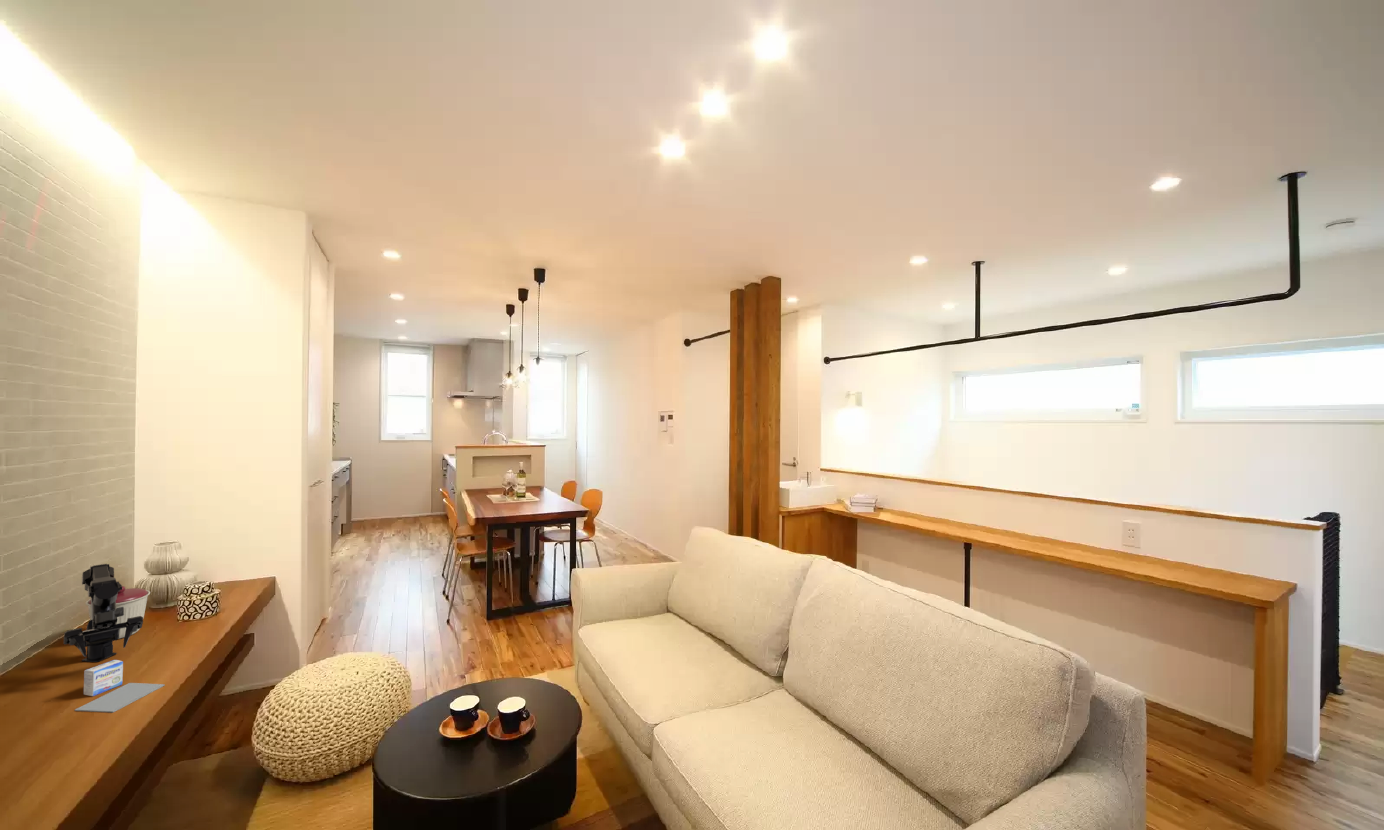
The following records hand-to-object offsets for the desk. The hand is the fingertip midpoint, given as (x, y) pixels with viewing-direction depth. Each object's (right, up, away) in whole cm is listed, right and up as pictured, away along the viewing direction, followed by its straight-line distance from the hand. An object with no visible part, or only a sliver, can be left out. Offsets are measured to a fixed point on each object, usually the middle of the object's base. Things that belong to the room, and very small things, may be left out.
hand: (105, 651), depth 180 cm
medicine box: (+6, -11, -5) cm, 14 cm away
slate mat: (+17, -11, -9) cm, 22 cm away
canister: (-33, -9, +33) cm, 47 cm away
